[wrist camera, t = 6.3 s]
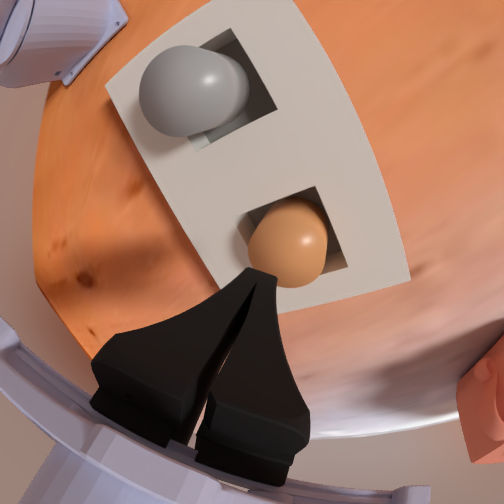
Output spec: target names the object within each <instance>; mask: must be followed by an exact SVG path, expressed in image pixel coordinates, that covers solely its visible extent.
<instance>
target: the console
mask: <svg viewBox="0 0 504 504" xmlns="http://www.w3.org/2000/svg"><path fill="white" fill-rule="evenodd" d="M180 45H189V46H194V47H199V48H202V49H206V50H210V51H213V52H217V53H220V54H223V55H227V56H229V57H231V58H233V59H235V60H236V61H237V62H238V63H239V64H240V65H241V66H242V67H243V68H244V70H245V72H246V74H247V76H248V79H249V84H250V93H249V98H248V102H247V104H246V106H245V108H244V110H243V111H242V112H241V114H240V115H239V116H238V117H237V118H236V119H234V120H233V121H231V122H230V123H228V124H226V125H223V126H219V127H216V128H213V129H210V130H206V131H203V132H200V133H197V134H194V135H191V136H187V137H171V136H167V135H165V134H162V133H160V132H159V131H157V130H156V129H154V128H153V127H152V126H151V125H150V124H149V122H148V121H147V120H146V118H145V116H144V114H143V112H142V110H141V106H140V102H139V86H140V82H141V78H142V75H143V73H144V71H145V69H146V67H147V66H148V65H149V63H150V62H151V61H152V60H153V59H154V58H155V57H156V56H157V55H158V54H160V53H161V52H163V51H164V50H166V49H169V48H171V47H175V46H180ZM105 87H106V89H107V91H108V93H109V95H110V97H111V99H112V101H113V103H114V105H115V107H116V109H117V111H118V113H119V115H120V117H121V119H122V121H123V122H124V124H125V126H126V128H127V130H128V132H129V134H130V136H131V138H132V139H133V141H134V143H135V145H136V147H137V149H138V151H139V152H140V154H141V156H142V158H143V160H144V161H145V163H146V165H147V167H148V169H149V170H150V172H151V174H152V176H153V178H154V179H155V181H156V183H157V185H158V186H159V188H160V190H161V192H162V193H163V195H164V197H165V199H166V200H167V202H168V204H169V206H170V207H171V209H172V211H173V212H174V214H175V216H176V218H177V219H178V221H179V223H180V224H181V226H182V228H183V229H184V231H185V233H186V234H187V236H188V238H189V239H190V241H191V243H192V244H193V246H194V248H195V249H196V251H197V252H198V254H199V256H200V257H201V259H202V261H203V262H204V264H205V265H206V267H207V269H208V270H209V272H210V273H211V275H212V277H213V278H214V280H215V281H216V283H217V285H218V286H219V288H220V289H222V288H223V287H225V286H226V285H227V284H228V283H230V282H231V281H232V280H233V279H235V278H236V277H237V276H238V275H239V274H240V273H241V272H242V271H243V270H244V269H245V268H247V267H251V268H253V267H252V265H251V263H250V260H249V256H248V245H249V241H250V239H251V236H252V235H253V233H254V232H255V230H256V228H257V227H258V225H259V223H260V222H261V220H262V219H263V217H264V215H265V214H266V212H267V211H268V209H269V208H270V207H271V205H273V204H274V203H275V202H277V201H278V200H280V199H283V198H287V197H301V198H305V199H308V200H310V201H312V202H313V203H315V204H316V205H317V206H318V207H320V209H321V210H322V211H323V212H324V214H325V216H326V218H327V221H328V225H329V232H328V241H327V250H326V258H325V265H324V268H323V270H322V272H321V274H320V275H319V276H318V277H317V278H316V279H315V280H314V281H313V282H311V283H310V284H308V285H305V286H302V287H298V288H283V287H279V286H277V289H276V304H277V314H280V313H285V312H290V311H294V310H299V309H303V308H308V307H312V306H316V305H321V304H325V303H329V302H333V301H337V300H341V299H345V298H349V297H353V296H357V295H361V294H365V293H368V292H372V291H376V290H379V289H383V288H387V287H390V286H394V285H397V284H401V283H404V282H407V281H411V278H410V273H409V269H408V264H407V260H406V256H405V252H404V248H403V244H402V240H401V236H400V232H399V229H398V225H397V222H396V218H395V215H394V211H393V208H392V205H391V202H390V199H389V195H388V192H387V189H386V186H385V183H384V181H383V178H382V175H381V172H380V169H379V167H378V164H377V161H376V158H375V156H374V153H373V151H372V148H371V146H370V143H369V141H368V138H367V136H366V133H365V131H364V129H363V126H362V124H361V122H360V120H359V117H358V115H357V113H356V111H355V108H354V106H353V104H352V102H351V100H350V98H349V96H348V94H347V92H346V90H345V88H344V86H343V84H342V82H341V80H340V78H339V76H338V74H337V72H336V70H335V68H334V67H333V65H332V63H331V61H330V59H329V57H328V56H327V54H326V52H325V50H324V49H323V47H322V45H321V44H320V42H319V40H318V39H317V37H316V35H315V34H314V32H313V30H312V29H311V27H310V26H309V24H308V23H307V21H306V19H305V18H304V16H303V15H302V13H301V12H300V10H299V9H298V8H297V6H296V5H295V3H294V2H293V0H212V1H210V2H208V3H207V4H205V5H204V6H202V7H200V8H199V9H197V10H196V11H194V12H193V13H191V14H190V15H188V16H187V17H185V18H184V19H182V20H181V21H180V22H178V23H177V24H175V25H174V26H173V27H171V28H170V29H169V30H167V31H166V32H165V33H163V34H162V35H161V36H159V37H158V38H157V39H156V40H154V41H153V42H152V43H151V44H149V45H148V46H147V47H146V48H145V49H143V50H142V51H141V52H140V53H139V54H138V55H136V56H135V57H134V58H133V59H132V60H131V61H130V62H129V63H127V64H126V65H125V66H124V67H123V68H122V69H121V70H120V71H119V72H118V73H117V74H116V75H115V76H114V77H113V78H112V79H111V80H110V81H109V82H108V83H107V84H106V85H105Z"/></svg>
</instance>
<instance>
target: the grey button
mask: <svg viewBox="0 0 504 504" xmlns="http://www.w3.org/2000/svg"><path fill="white" fill-rule="evenodd" d="M249 93H250V84H249V79H248V76H247V74H246V72H245V70H244V68H243V67H242V66H241V65H240V64H239V63H238V62H237V61H236V60H235V59H233V58H231V57H229V56H227V55H223V54H220V53H217V52H213V51H210V50H206V49H202V48H199V47H194V46H189V45H180V46H175V47H171V48H169V49H166V50H164V51H163V52H161V53H160V54H158V55H157V56H156V57H155V58H154V59H153V60H152V61H151V62H150V63H149V65H148V66H147V67H146V69H145V71H144V73H143V75H142V78H141V82H140V86H139V102H140V106H141V110H142V112H143V114H144V116H145V118H146V120H147V121H148V122H149V124H150V125H151V126H152V127H153V128H154V129H156V130H157V131H159V132H160V133H162V134H165V135H167V136H171V137H187V136H191V135H194V134H197V133H200V132H203V131H206V130H210V129H213V128H216V127H219V126H223V125H226V124H228V123H230V122H231V121H233V120H234V119H236V118H237V117H238V116H239V115H240V114H241V112H242V111H243V110H244V108H245V106H246V104H247V102H248V98H249Z"/></svg>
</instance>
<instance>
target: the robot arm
mask: <svg viewBox="0 0 504 504" xmlns="http://www.w3.org/2000/svg"><path fill="white" fill-rule="evenodd" d="M127 22H128V16H127V15H126V13H125V11H124V9H123V8H122V6H121V4H120V2H119V0H0V86H3V87H7V88H18V87H24V86H29V85H33V84H39V83H45V82H50V81H57V80H62V81H63V84H64V85H65V86H66V85H69V84H70V83H71V82H72V81H73V80H74V78H75V77H76V76H77V75H78V74H79V72H80V71H81V70H82V69H83V68H84V67H85V65H86V64H87V63H88V62H89V61H90V60H91V59H92V58H93V57H94V55H95V54H96V53H97V52H98V51H99V50H100V49H101V48H102V47H103V46H104V45H105V44H106V43H107V42H108V41H109V40H110V39H111V38H112V37H113V36H114V35H115V34H116V33H117V32H118V31H119V30H120V29H121V28H122V27H123V26H125V25H126V23H127ZM118 23H119V26H118ZM72 73H73V75H72ZM277 282H278V278H277V277H276V276H274V275H271V274H268V273H265V272H262V271H259V270H256V269H254V268H251V267H247V268H245V269H244V270H243V271H242V272H241V273H240V274H239V275H238V276H237V277H236V278H235V279H233V280H232V281H231V282H230V283H228V284H227V285H226V286H225V287H223V288H222V289H221V290H219V291H218V292H217V293H215V294H214V295H212V296H211V297H209V298H208V299H206V300H205V301H203V302H201V303H200V304H198V305H196V306H194V307H193V308H191V309H189V310H187V311H185V312H183V313H181V314H179V315H176V316H174V317H172V318H170V319H167V320H165V321H162V322H159V323H156V324H153V325H150V326H147V327H144V328H140V329H136V330H132V331H128V332H123V333H118V334H115V335H114V336H113V337H112V338H111V339H110V340H109V341H107V342H106V343H105V345H104V346H103V347H102V348H101V349H100V351H99V352H98V353H97V354H96V356H95V357H94V358H93V359H92V361H91V367H92V370H93V373H94V375H95V377H96V380H97V382H98V384H99V386H100V387H99V388H98V390H97V391H96V393H95V394H94V395H93V396H91V395H90V394H88V393H87V392H85V391H84V390H82V389H81V388H79V387H78V386H76V385H75V384H73V383H72V382H71V381H69V380H68V379H66V378H65V377H64V376H62V375H61V374H59V373H58V372H57V371H56V370H54V369H53V368H52V367H51V366H49V365H48V364H47V363H46V362H44V361H43V360H42V359H41V358H39V357H38V356H37V355H36V354H35V353H33V352H32V351H31V350H30V349H29V348H28V347H26V346H25V345H24V344H23V343H22V342H21V339H20V337H19V335H18V334H17V332H16V331H15V330H14V328H12V326H11V325H10V324H8V323H7V322H6V321H5V320H4V319H3V318H2V317H1V316H0V391H1V392H2V393H3V394H4V395H5V396H6V397H7V398H8V399H9V400H10V401H11V402H12V403H13V404H14V405H15V406H16V407H17V408H18V409H19V410H20V411H21V412H22V413H23V414H24V415H25V416H26V417H27V418H28V419H29V420H31V421H32V422H33V423H34V424H35V425H36V426H37V427H38V428H40V429H41V430H42V431H43V432H44V433H45V434H47V435H48V436H49V437H50V438H52V439H53V440H54V441H55V442H57V443H56V444H55V446H54V447H53V449H52V450H51V452H50V453H49V455H48V456H47V458H46V460H45V461H44V463H43V464H42V466H41V467H40V469H39V470H38V472H37V474H36V475H35V477H34V478H33V480H32V482H31V483H30V485H29V487H28V488H27V490H26V492H25V493H24V495H23V497H22V498H21V500H20V502H19V503H18V504H429V503H430V489H431V487H430V485H414V486H413V485H411V486H403V487H400V488H397V489H395V490H394V491H383V490H365V489H353V488H344V487H335V486H329V485H322V484H316V483H310V482H304V481H299V480H294V479H290V478H287V474H288V471H289V467H290V466H291V465H292V464H293V460H294V456H295V454H297V453H298V452H299V451H301V450H302V449H303V448H305V447H306V445H307V444H308V443H309V438H310V411H309V409H308V407H307V405H306V404H305V402H304V400H303V398H302V396H301V394H300V392H299V390H298V387H297V385H296V383H295V381H294V378H293V375H292V373H291V370H290V367H289V364H288V362H287V359H286V355H285V352H284V348H283V344H282V340H281V335H280V330H279V324H278V316H277V304H276V289H277ZM231 348H232V349H231ZM230 350H231V351H230ZM229 352H230V353H229ZM228 354H229V355H228ZM227 356H228V357H227ZM226 357H227V359H226ZM225 359H226V361H225ZM224 361H225V363H224ZM223 363H224V364H223ZM222 365H223V366H222ZM221 367H222V368H221ZM220 369H221V370H220ZM219 371H220V372H219ZM218 373H219V374H218ZM207 398H208V399H207ZM206 400H207V404H206V408H205V413H204V418H203V420H202V423H201V425H200V427H199V429H198V431H197V434H196V436H197V437H196V443H195V449H193V448H190V447H188V446H187V445H188V443H189V440H190V438H191V436H192V433H193V431H194V428H195V426H196V424H197V421H198V419H199V417H200V414H201V412H202V410H203V407H204V405H205V403H206ZM217 479H218V480H221V481H224V482H228V483H231V484H234V485H237V486H240V487H244V488H247V489H250V490H248V492H245V491H242V490H239V489H237V488H234V487H231V486H228V485H226V484H223V483H221V482H219V481H218V480H217Z"/></svg>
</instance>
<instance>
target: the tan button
mask: <svg viewBox="0 0 504 504" xmlns="http://www.w3.org/2000/svg"><path fill="white" fill-rule="evenodd" d="M328 232H329V225H328V221H327V218H326V216H325V214H324V212H323V211H322V210H321V209H320V207H318V206H317V205H316V204H315V203H313V202H312V201H310V200H308V199H305V198H301V197H287V198H283V199H280V200H278V201H277V202H275V203H274V204H273V205H271V207H270V208H269V209H268V211H267V212H266V214H265V215H264V217H263V219H262V220H261V222H260V223H259V225H258V227H257V228H256V230H255V232H254V233H253V235H252V236H251V239H250V241H249V245H248V256H249V260H250V263H251V265H252V267H253V268H254V269H256V270H259V271H262V272H265V273H268V274H271V275H274V276H276V277H277V278H278V282H277V286H279V287H283V288H298V287H302V286H305V285H308V284H310V283H311V282H313V281H314V280H315V279H316V278H317V277H318V276H319V275H320V274H321V272H322V270H323V268H324V265H325V258H326V250H327V241H328Z"/></svg>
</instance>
